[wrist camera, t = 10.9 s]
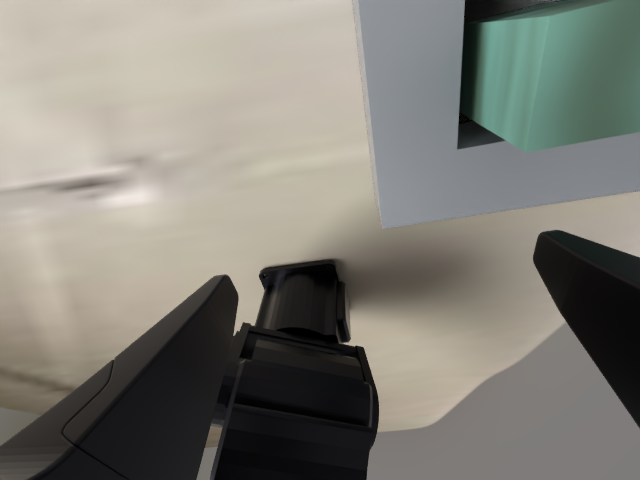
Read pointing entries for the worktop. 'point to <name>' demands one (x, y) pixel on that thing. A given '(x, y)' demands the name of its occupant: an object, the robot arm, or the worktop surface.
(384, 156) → the socket block
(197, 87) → the worktop surface
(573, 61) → the peg
